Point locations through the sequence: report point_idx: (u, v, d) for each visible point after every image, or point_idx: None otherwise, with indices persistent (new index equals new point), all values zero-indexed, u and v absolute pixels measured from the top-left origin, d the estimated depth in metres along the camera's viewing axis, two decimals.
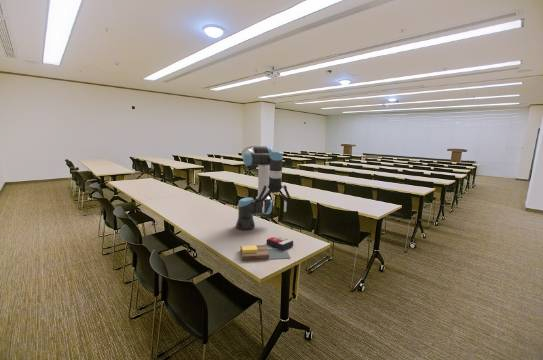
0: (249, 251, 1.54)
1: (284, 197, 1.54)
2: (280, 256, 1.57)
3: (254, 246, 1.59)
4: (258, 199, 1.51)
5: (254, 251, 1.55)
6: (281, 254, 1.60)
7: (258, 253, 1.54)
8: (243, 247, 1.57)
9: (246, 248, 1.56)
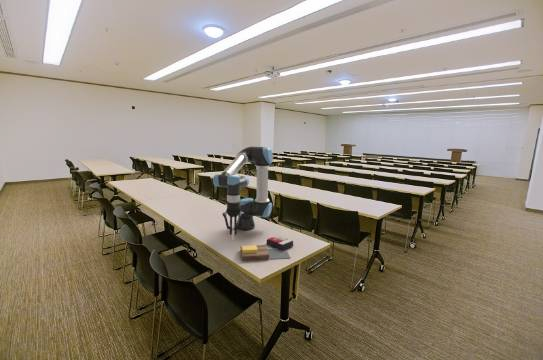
0: (249, 251, 1.54)
1: (235, 224, 1.51)
2: (280, 256, 1.57)
3: (254, 246, 1.59)
4: None
5: (254, 251, 1.55)
6: (281, 254, 1.60)
7: (258, 253, 1.54)
8: (243, 247, 1.57)
9: (246, 248, 1.56)
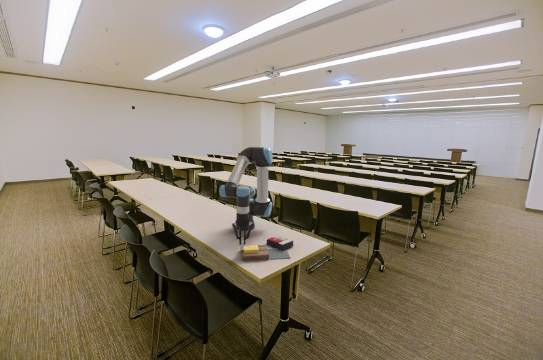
0: (251, 251, 1.55)
1: (244, 234, 1.54)
2: (280, 256, 1.57)
3: (255, 246, 1.59)
4: (236, 238, 1.53)
5: (255, 251, 1.55)
6: (281, 254, 1.60)
7: (258, 253, 1.54)
8: (244, 247, 1.57)
9: (247, 248, 1.56)
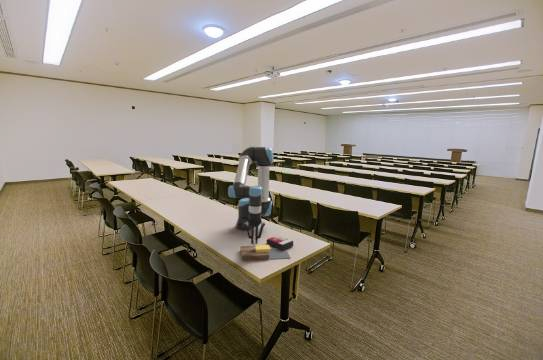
0: (263, 251, 1.56)
1: (256, 234, 1.55)
2: (280, 256, 1.57)
3: (267, 245, 1.60)
4: (248, 237, 1.55)
5: (267, 250, 1.56)
6: (281, 254, 1.60)
7: (258, 253, 1.54)
8: (256, 246, 1.59)
9: (259, 247, 1.57)
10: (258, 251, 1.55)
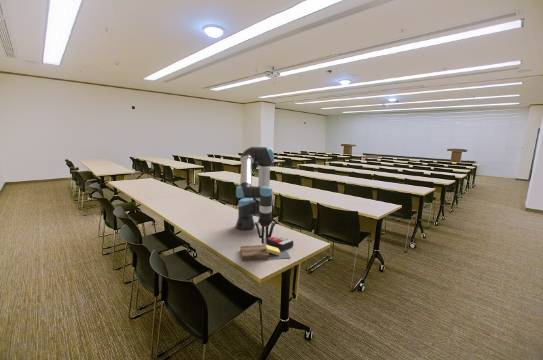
0: (272, 252, 1.57)
1: (266, 233, 1.56)
2: (280, 256, 1.57)
3: (277, 248, 1.62)
4: (259, 237, 1.56)
5: (277, 253, 1.58)
6: (281, 254, 1.60)
7: (258, 253, 1.54)
8: (267, 246, 1.60)
9: (270, 248, 1.59)
10: (268, 251, 1.57)
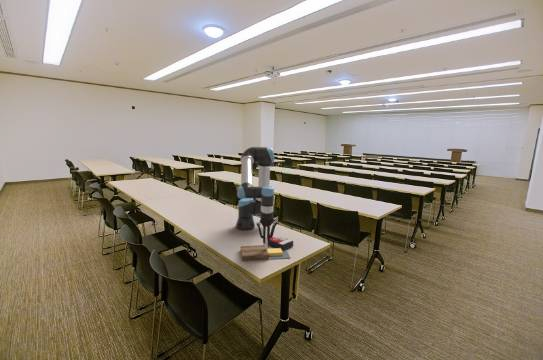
0: (275, 254, 1.58)
1: (268, 233, 1.57)
2: (280, 256, 1.57)
3: (279, 249, 1.62)
4: None
5: (279, 254, 1.58)
6: None
7: (258, 253, 1.54)
8: (268, 250, 1.61)
9: (271, 251, 1.59)
10: (270, 254, 1.57)
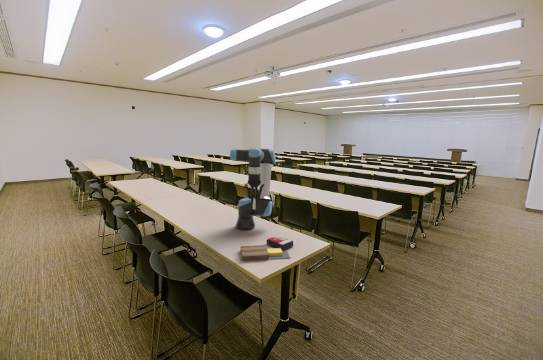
0: (275, 254, 1.58)
1: (256, 194, 1.63)
2: (280, 256, 1.57)
3: (279, 249, 1.62)
4: (248, 197, 1.63)
5: (279, 254, 1.58)
6: None
7: (258, 253, 1.54)
8: (268, 250, 1.61)
9: (271, 251, 1.59)
10: (270, 254, 1.57)
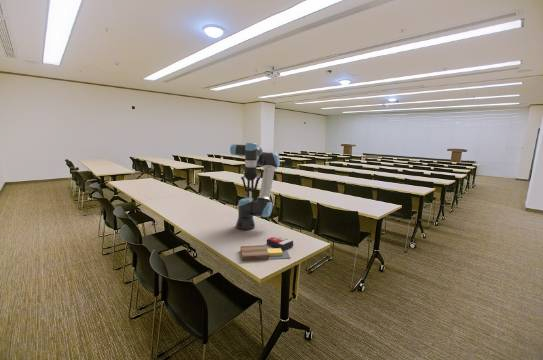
0: (275, 254, 1.58)
1: (252, 187, 1.69)
2: (280, 256, 1.57)
3: (279, 249, 1.62)
4: (245, 190, 1.68)
5: (279, 254, 1.58)
6: None
7: (258, 253, 1.54)
8: (268, 250, 1.61)
9: (271, 251, 1.59)
10: (270, 254, 1.57)
